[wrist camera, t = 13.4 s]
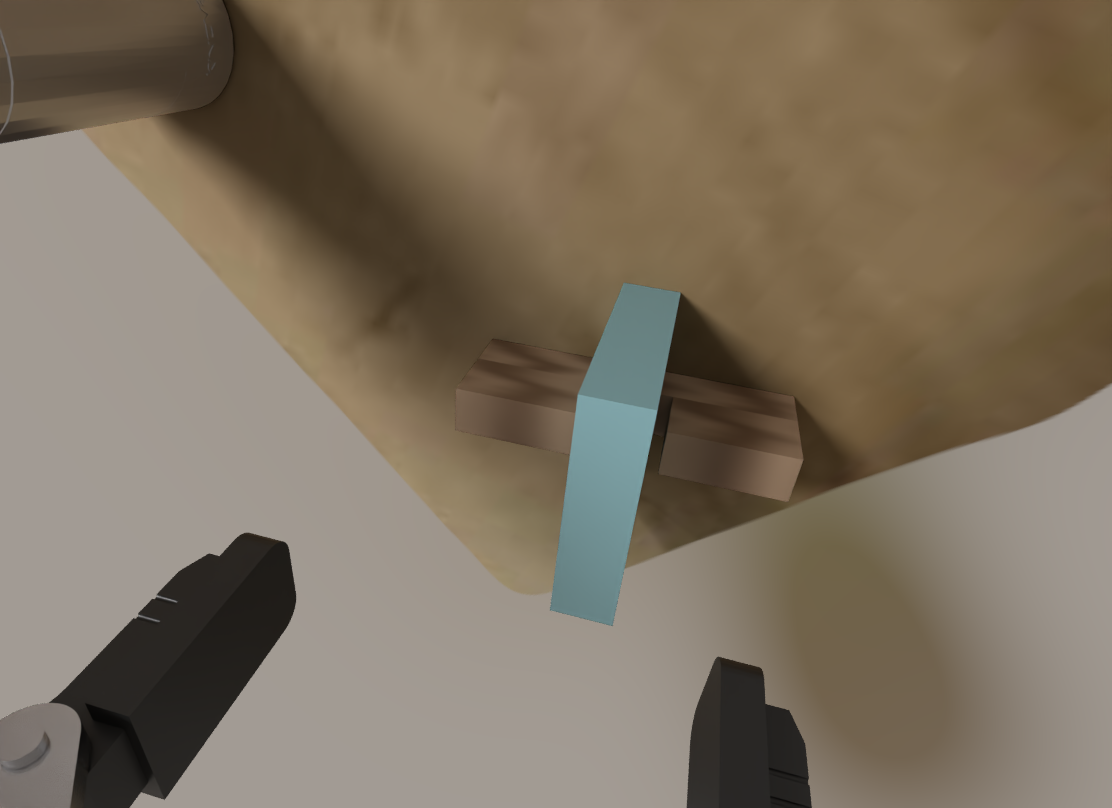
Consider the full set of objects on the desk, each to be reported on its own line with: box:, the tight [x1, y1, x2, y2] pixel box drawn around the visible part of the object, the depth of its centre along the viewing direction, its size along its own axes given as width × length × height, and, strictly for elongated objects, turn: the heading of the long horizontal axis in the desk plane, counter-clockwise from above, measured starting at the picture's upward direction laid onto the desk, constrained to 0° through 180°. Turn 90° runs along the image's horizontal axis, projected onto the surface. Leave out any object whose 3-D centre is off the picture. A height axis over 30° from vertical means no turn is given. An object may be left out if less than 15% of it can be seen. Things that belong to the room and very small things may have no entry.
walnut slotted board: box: [455, 339, 803, 502], centre depth 41 cm, size 20×3×7 cm, turn 84°
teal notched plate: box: [550, 283, 681, 626], centre depth 38 cm, size 14×4×14 cm, turn 174°
